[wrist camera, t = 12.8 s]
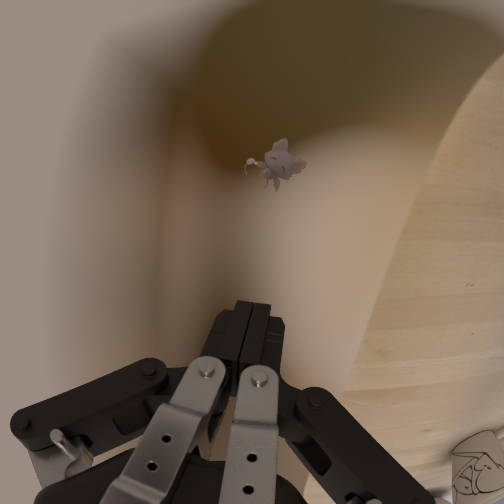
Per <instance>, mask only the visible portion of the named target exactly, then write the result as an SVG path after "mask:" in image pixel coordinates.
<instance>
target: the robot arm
mask: <svg viewBox="0 0 504 504" xmlns="http://www.w3.org/2000/svg"><path fill="white" fill-rule="evenodd" d="M270 311H271V305H269V304H262V303H255V304H254V303H253V302H247V301H240V300H237V302H236V305H235V308H234V311H231V310H223V311H222V312H221V313H219V314H218V315H217V317H216V319H215V321H214V324H213V326H212V328H211V331H210V333H209V336H208V338H207V341H206V343H205V345H204V348H203V350H202V353H201V355H200V357H199V358H197V359H195V360H193V361H192V362H191V363H190V365H189V366H186V367H181V368H166V365H165V364H164V363H163V362H162V361H161V360H159V359H156V358H145V359H142V360H139V361H137V362H135V363H133V364H130V365H128V366H126V367H124V368H121V369H119V370H117V371H114V372H112V373H110V374H107V375H105V376H103V377H100V378H98V379H96V380H93V381H91V382H89V383H86V384H84V385H81V386H79V387H77V388H74V389H72V390H69V391H67V392H64V393H62V394H59V395H57V396H54V397H52V398H49V399H46V400H44V401H41V402H39V403H36V404H33V405H31V406H28V407H25V408H23V409H20V410H18V411H17V412H16V413H14V415H13V416H12V418H11V421H10V428H11V431H12V433H13V434H14V435H15V436H16V437H17V439H19V441H20V442H22V443H23V445H24V446H25V447H26V448H27V450H28V452H29V455H30V458H31V460H32V463H33V466H34V469H35V471H36V474H37V477H38V479H39V482H40V484H41V487H42V490H41V491H40V492H39V493H38V495H37V496H36V498H35V501H34V504H308V503H307V502H306V501H305V499H304V498H303V497H302V495H301V494H300V493H299V491H298V490H297V489H296V488H295V487H294V486H293V485H292V484H291V483H290V482H289V481H288V480H286V479H285V478H283V477H281V476H279V475H277V474H276V473H277V455H278V454H277V453H278V436H280V437H282V438H285V440H286V442H287V444H288V445H289V447H290V448H291V449H292V450H293V452H294V453H295V454H296V455H297V457H298V458H299V459H300V461H301V462H302V463H303V464H304V466H305V467H306V468H307V469H308V471H309V472H310V473H311V474H312V476H313V477H314V478H315V479H316V480H317V482H318V483H319V484H320V485H321V486H322V488H323V489H324V490H325V491H326V492H327V493H328V495H329V496H330V497H331V498H332V499H333V500H334V502H335V503H336V504H436V501H435V499H434V497H433V496H432V495H431V494H430V493H429V492H428V491H427V490H426V489H425V488H424V487H423V486H422V485H421V484H420V483H418V482H417V481H416V480H415V479H414V478H413V477H412V476H411V475H410V474H409V473H408V472H407V471H406V470H405V469H404V468H403V467H402V466H401V465H400V464H399V463H398V462H397V461H396V460H395V459H394V458H393V457H392V456H391V455H390V454H389V453H388V452H387V451H386V450H385V449H384V448H383V447H382V446H381V445H380V444H379V443H378V442H377V441H376V440H375V439H374V438H373V437H372V436H371V435H370V434H369V433H368V432H367V431H366V430H365V429H364V428H363V427H362V426H361V425H360V424H359V423H358V422H357V420H356V419H355V418H354V417H353V416H352V415H351V414H350V413H349V412H348V411H347V410H346V409H345V408H344V407H343V406H342V405H341V404H340V403H339V402H338V401H337V399H336V398H335V397H334V396H333V395H332V394H331V393H330V392H328V391H327V390H325V389H323V388H320V387H309V388H306V389H304V390H299V389H297V388H294V387H292V386H290V385H288V384H287V383H286V382H285V381H284V380H283V379H282V377H281V375H280V363H281V355H282V348H283V339H284V331H285V325H284V323H283V320H282V318H280V317H272V316H270ZM237 391H238V395H237ZM236 395H237V401H236V408H235V414H234V420H233V421H232V426H231V432H230V438H229V444H228V450H227V457H226V461H209V460H210V456H211V450H212V447H213V444H214V441H215V439H216V436H217V434H218V431H219V429H220V426H221V423H222V421H223V418H224V415H225V413H226V407H227V405H228V401H229V398H230V396H232V397H236ZM141 435H143V436H142V437H141V439H140V441H139V443H138V444H137V446H136V448H132V449H129V450H126V451H124V452H122V453H120V454H118V455H116V456H114V457H112V458H110V459H108V460H106V461H104V462H102V463H100V464H98V465H95V466H93V467H91V466H92V463H93V457H95V456H98V455H100V454H102V453H104V452H107V451H109V450H111V449H113V448H116V447H118V446H120V445H122V444H124V443H126V442H128V441H131V440H133V439H135V438H137V437H139V436H141Z"/></svg>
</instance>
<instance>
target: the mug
mask: <svg viewBox="0 0 504 504" xmlns="http://www.w3.org/2000/svg"><path fill="white" fill-rule="evenodd" d="M503 497H504V437H502V438H501V439H498V438H497V437H496V436H495V434H494V433H493V432H492V431H484V432H481V433H478V434H476V435H474V436H472V437H470V438H468V439H466V440H465V441H463V442H462V443H460V444H459V445H458V446H457V447H456V448H455V449H454V451H453V454H452V498H453V504H492V503H494V502H496V501H498V500H499V499H501V498H503Z"/></svg>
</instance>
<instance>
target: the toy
mask: <svg viewBox="0 0 504 504" xmlns="http://www.w3.org/2000/svg"><path fill="white" fill-rule="evenodd" d="M287 150H288V141H287V139H285V138H283V139H280V140H279V141H278V142H275V143H274V144H273V147H272V150H271V151H269V152H266V153H265V162H266V163H264V162H255V160H254V159H252V158H250V159H248V160H247V163H248V164H252V163H253V162H254V164H256V165H258V166H259V168H260V167H262V171H261V173H262V176H263V177H264V178H265V179H266V180H267V184H268V180H271V179H272V178H273V180H274V184H273V186H274V187H275V189H276V192H277V191H278V189H279V187H280V180H279V178H282V179H284V180H289V178H290V177H292V174H298V173H300V172H301V170H302V169H304V168H305V166H306V164H307V163H306V162H305V161H304V160H301V159H293V157H292V156H291V155H290V154H289V153H288V152H287ZM245 167H246V166H245ZM247 176H248V175H247ZM277 176H278V177H279V178H278V177H277ZM256 186H257V185H256ZM259 188H260V187H259ZM264 188H265V187H264Z"/></svg>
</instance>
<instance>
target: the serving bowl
mask: <svg viewBox="0 0 504 504" xmlns="http://www.w3.org/2000/svg"><path fill="white" fill-rule="evenodd" d="M434 499H435V501H436V504H451V503H450V502H449V501H447V500H445V499H442V498H434Z"/></svg>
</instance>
